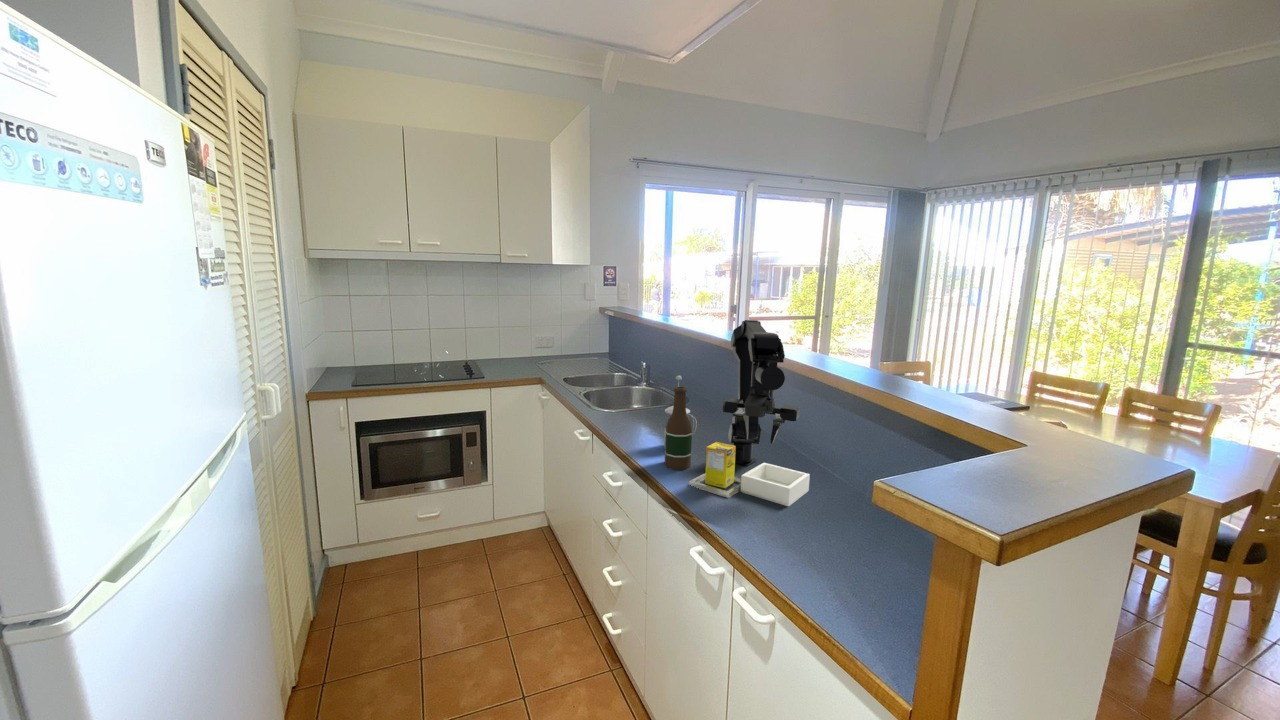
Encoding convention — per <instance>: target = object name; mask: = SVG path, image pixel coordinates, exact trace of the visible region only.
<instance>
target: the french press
mask: <svg viewBox="0 0 1280 720" xmlns="http://www.w3.org/2000/svg"><path fill="white" fill-rule="evenodd" d="M682 379H683V378H682V375H676V377H675V380H677V381H678V383H677V387H680V381H681V380H682ZM664 412H665V413H666V414H668V415H670V416H671V415H672V412H673V405H672V406H668V407H667V408H665V409H664ZM690 413H691V410H690V409H689V408H687V407H686V414H687V415H688V419H689V420H690V417H691V418H692V421H693V423H692V424H693V426H692V431H693V430H694V431H693V432H692V436H693V435H694V434H695V432H696V431H697V427H698V422H697V418H696V417H695V416H694V415H692V414H690ZM666 424H667V421H666V422H665V426H664V437H665V436H666ZM694 428H695V429H694ZM663 443H664V446H663V448H664V449H665V439H664V442H663Z"/></svg>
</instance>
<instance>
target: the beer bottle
mask: <svg viewBox="0 0 1280 720" xmlns="http://www.w3.org/2000/svg"><path fill="white" fill-rule="evenodd" d="M673 392H674V394H673V396H674V397H673V405H672V406H673V412H672V415H671V414H670V416H669V418H668V419H667V421H666V422H667V424H666V423H665V426H666V436H665V435H664V440H665V448H664V464H665V467H666V468H667V469H671V470H672V471H673V470H674V471H686V470H688V469H690V468H691V466H692V465H691V463H692V462H691V461H692V440H693V439H692V438H693V435H692V434H693V430H692V428H693V426H692V424H691V421H690V418H689V416H688V414H686V408H687V404H686V403H687V400H686V399H687V398H686V393H687V388H686V387H684V386H679V387H678V386H676V387H674V389H673ZM688 418H689V419H688Z"/></svg>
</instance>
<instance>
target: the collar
mask: <svg viewBox="0 0 1280 720" xmlns="http://www.w3.org/2000/svg"><path fill="white" fill-rule="evenodd" d="M705 473H706V472H705ZM705 473H702V474H700V475H699V476H697V477H695V478H692V479H690V480H689V481H688V486H690V485H691V486H690V487H693V486H694V487H693V488H695V487H696V489H698V488H699V489H698V490H703V491H704V492H705V491H706V492H708V493H712V494H715V495H716V496H717V495H718V496H720V497H724V498H728V499H730V498H732V496H734V495H736V494H738V493H739V492H741V478H742V476H741V477H740V476H738V475H734V483H738V484H737V485H736V486H734V487H732V488H730V489H729V490H721V489H718V488H715V487H712V486H708V485H705V483H701V482H702V481H704V480H705ZM700 481H701V482H700Z"/></svg>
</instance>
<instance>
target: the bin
mask: <svg viewBox="0 0 1280 720" xmlns="http://www.w3.org/2000/svg"><path fill="white" fill-rule="evenodd" d="M810 477H811V474H810V473H808V472H807V473H806V472H803V471H799V470H795V469H791V468H787V467H783V466H779V465H776V464H772V463H767V462H763V463H761V464H759V465H757V466H755V467H754V468H752V469H750V470H748V471H746V472H745V473H743V474H741V491H740V493H742V494H746V495H750V496H753V497H755V498H759V499H762V500H766V501H769V502H772V503H775V504H778V505H779V504H780V505H782V506H786V507H790V506H791V505H792V504H794V503H795V502H796V501H798V500H799V499H801V497H803V496H804V495H805V494H807V493H808V492H809V490H810V480H811V479H810Z"/></svg>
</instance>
